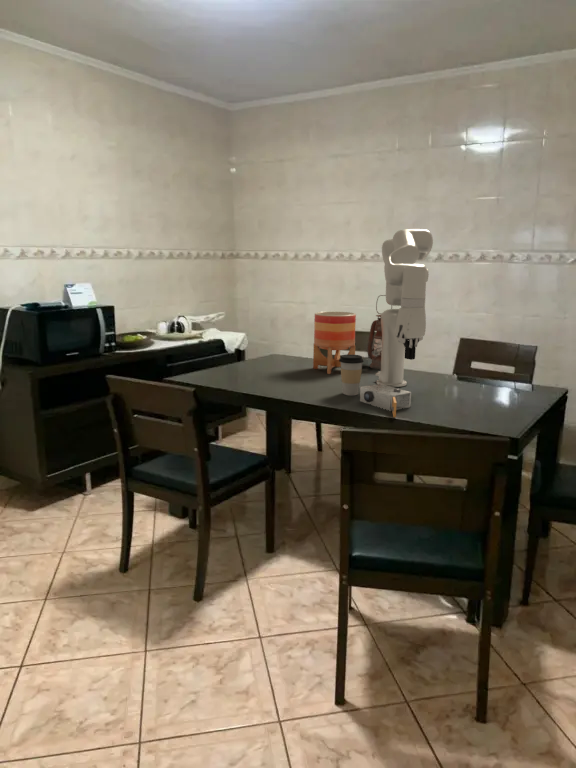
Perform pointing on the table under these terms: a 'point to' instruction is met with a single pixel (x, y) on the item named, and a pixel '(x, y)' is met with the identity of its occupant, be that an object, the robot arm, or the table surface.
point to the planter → (333, 337)
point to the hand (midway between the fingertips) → (409, 358)
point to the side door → (394, 406)
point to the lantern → (375, 327)
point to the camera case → (385, 396)
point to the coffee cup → (351, 373)
